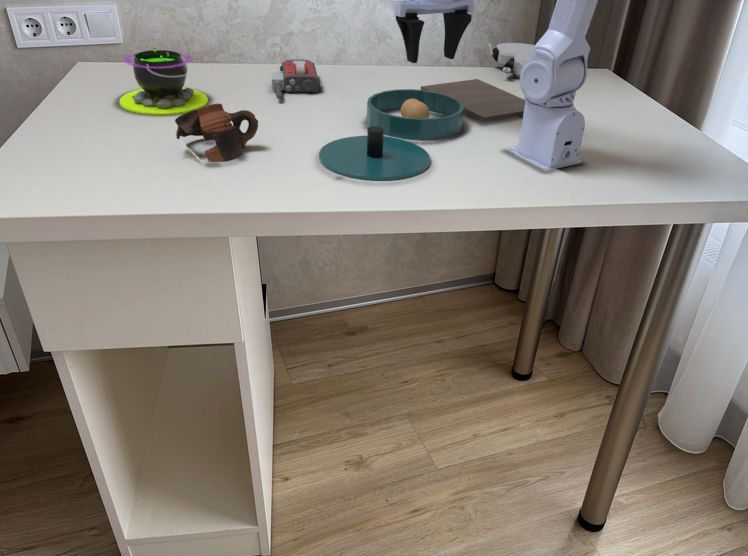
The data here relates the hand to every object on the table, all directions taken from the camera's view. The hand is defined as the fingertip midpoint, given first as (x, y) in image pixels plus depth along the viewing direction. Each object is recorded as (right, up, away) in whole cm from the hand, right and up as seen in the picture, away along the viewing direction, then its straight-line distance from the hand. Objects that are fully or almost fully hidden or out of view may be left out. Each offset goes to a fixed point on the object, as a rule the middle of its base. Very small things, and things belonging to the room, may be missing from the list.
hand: (430, 59), depth 118 cm
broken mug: (-33, -20, -13) cm, 40 cm away
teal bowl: (-3, -11, +1) cm, 11 cm away
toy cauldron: (-47, -6, +5) cm, 48 cm away
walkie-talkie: (-25, 0, +15) cm, 29 cm away
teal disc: (-9, -21, -13) cm, 26 cm away
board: (+10, -3, +14) cm, 17 cm away
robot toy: (+21, +11, +33) cm, 41 cm away
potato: (-3, -11, +1) cm, 11 cm away
